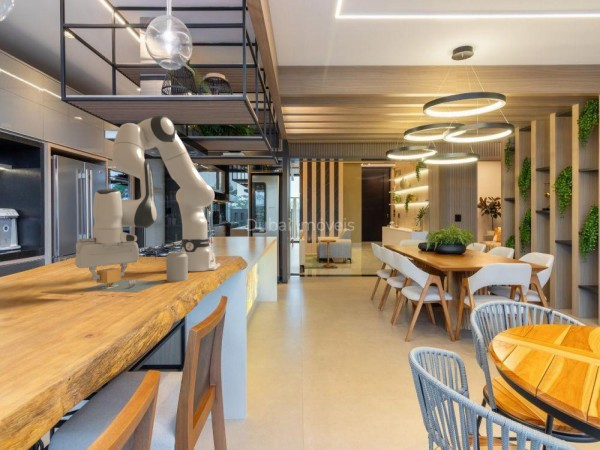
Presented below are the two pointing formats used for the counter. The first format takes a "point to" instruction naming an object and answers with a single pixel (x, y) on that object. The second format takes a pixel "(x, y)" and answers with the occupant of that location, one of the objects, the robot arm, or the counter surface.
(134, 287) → the header board
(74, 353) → the counter surface
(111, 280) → the orange rectangular block
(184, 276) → the can
